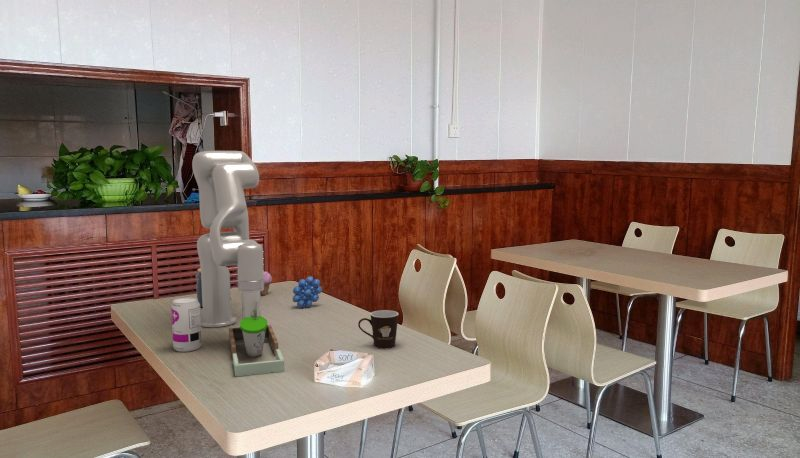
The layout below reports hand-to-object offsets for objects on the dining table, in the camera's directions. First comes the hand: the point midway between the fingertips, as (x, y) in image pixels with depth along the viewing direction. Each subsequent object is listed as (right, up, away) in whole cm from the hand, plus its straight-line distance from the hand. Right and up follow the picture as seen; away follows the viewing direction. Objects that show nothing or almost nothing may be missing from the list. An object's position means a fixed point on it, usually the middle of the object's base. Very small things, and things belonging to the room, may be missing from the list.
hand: (253, 344), depth 189 cm
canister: (-28, +5, +56) cm, 63 cm away
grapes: (+8, +5, +52) cm, 53 cm away
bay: (+5, -4, -15) cm, 16 cm away
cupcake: (-14, +7, +73) cm, 75 cm away
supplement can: (-20, -2, +2) cm, 21 cm away
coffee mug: (+38, -1, +5) cm, 38 cm away
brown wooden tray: (-1, -1, +2) cm, 2 cm away
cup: (+1, -2, -4) cm, 5 cm away
